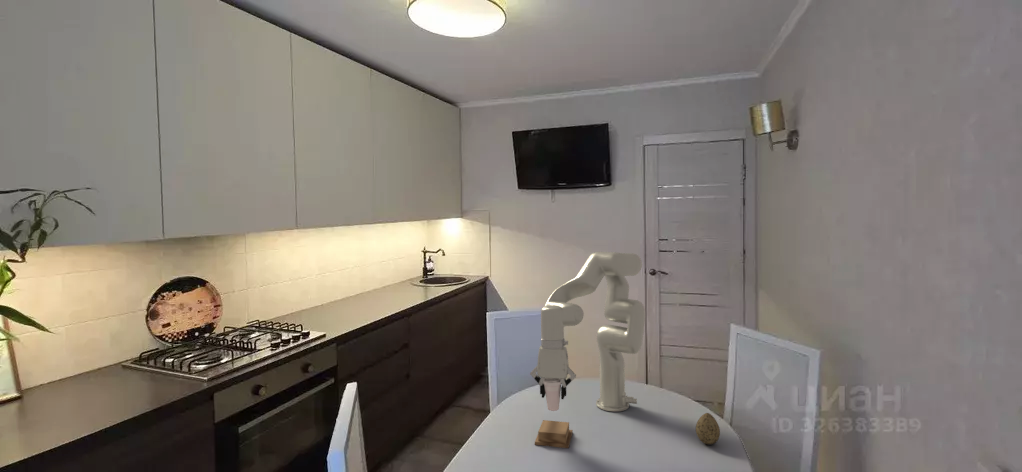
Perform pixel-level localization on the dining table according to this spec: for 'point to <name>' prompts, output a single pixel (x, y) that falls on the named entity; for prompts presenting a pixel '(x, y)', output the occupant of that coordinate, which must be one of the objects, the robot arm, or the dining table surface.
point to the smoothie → (552, 393)
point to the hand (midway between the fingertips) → (553, 396)
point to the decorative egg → (707, 429)
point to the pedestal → (554, 434)
